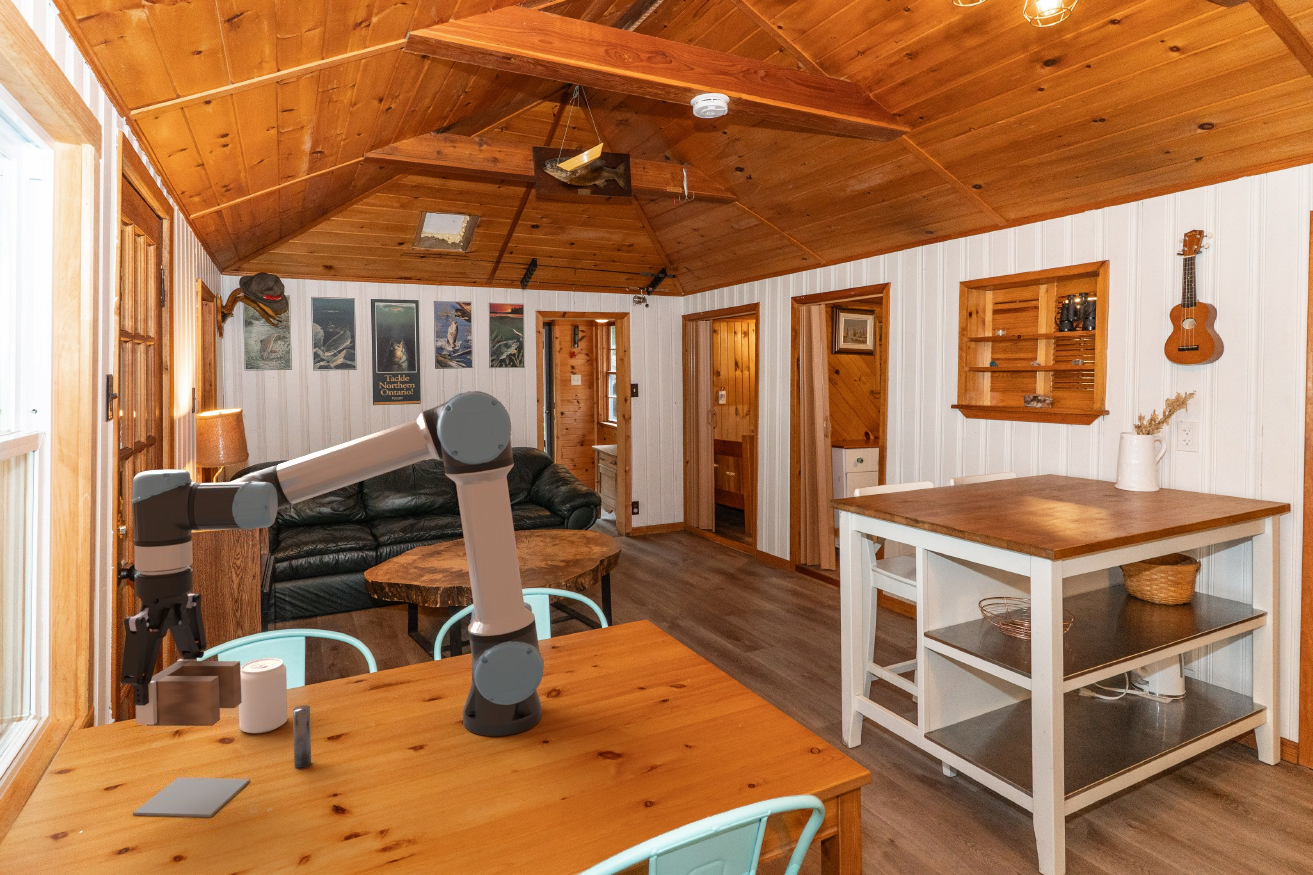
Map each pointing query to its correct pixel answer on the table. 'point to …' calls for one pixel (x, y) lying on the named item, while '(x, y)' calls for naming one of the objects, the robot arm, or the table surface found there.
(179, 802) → the mat
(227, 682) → the c link
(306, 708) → the post
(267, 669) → the beverage can
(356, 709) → the table surface
